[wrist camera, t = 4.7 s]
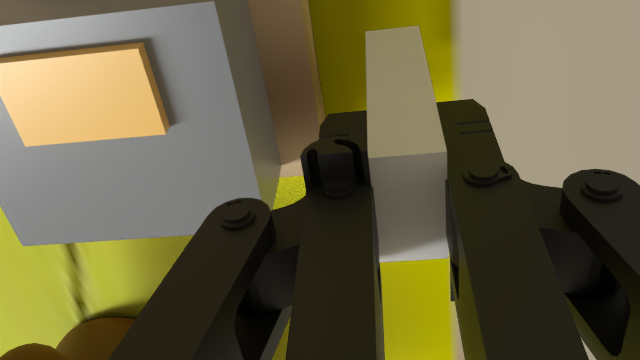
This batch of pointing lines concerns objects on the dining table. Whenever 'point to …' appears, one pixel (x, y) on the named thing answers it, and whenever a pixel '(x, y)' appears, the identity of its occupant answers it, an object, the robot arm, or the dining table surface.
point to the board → (289, 76)
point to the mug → (79, 342)
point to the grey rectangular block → (129, 117)
